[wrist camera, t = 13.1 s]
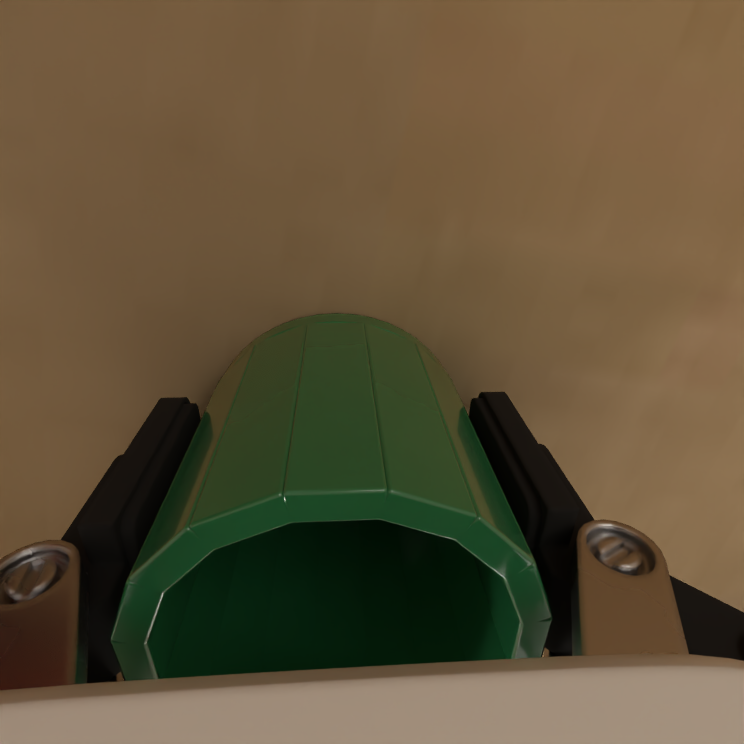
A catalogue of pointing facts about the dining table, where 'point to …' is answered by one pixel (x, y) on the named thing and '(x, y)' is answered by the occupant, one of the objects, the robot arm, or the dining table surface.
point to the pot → (331, 521)
